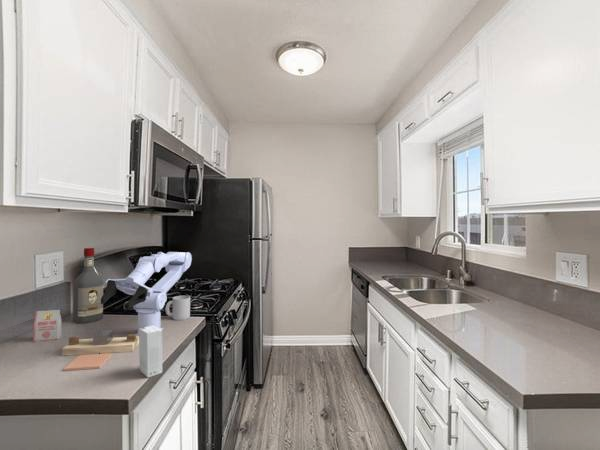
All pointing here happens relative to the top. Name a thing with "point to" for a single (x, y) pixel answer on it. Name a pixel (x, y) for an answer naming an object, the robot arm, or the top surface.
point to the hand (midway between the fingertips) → (114, 304)
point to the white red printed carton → (47, 325)
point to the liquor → (88, 292)
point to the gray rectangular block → (103, 337)
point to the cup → (179, 308)
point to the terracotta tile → (88, 361)
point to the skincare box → (150, 350)
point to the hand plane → (87, 347)
